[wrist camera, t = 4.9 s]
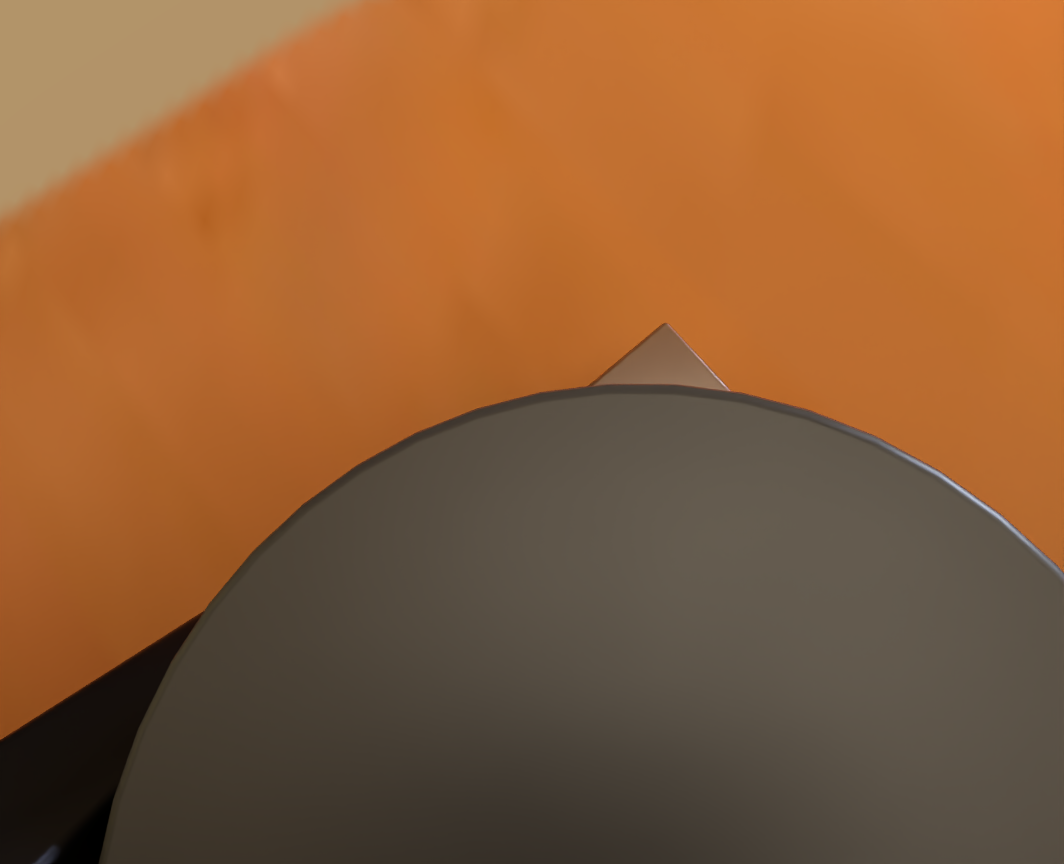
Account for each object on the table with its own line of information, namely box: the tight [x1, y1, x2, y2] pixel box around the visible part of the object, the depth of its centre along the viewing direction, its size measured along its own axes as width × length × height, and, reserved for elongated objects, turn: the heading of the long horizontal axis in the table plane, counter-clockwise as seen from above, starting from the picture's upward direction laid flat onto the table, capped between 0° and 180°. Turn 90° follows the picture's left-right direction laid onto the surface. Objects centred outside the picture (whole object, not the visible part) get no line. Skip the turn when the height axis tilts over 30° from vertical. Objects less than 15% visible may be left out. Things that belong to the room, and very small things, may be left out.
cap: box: [99, 384, 1064, 864], centre depth 9 cm, size 6×6×8 cm
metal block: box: [589, 323, 731, 391], centre depth 14 cm, size 8×8×3 cm
